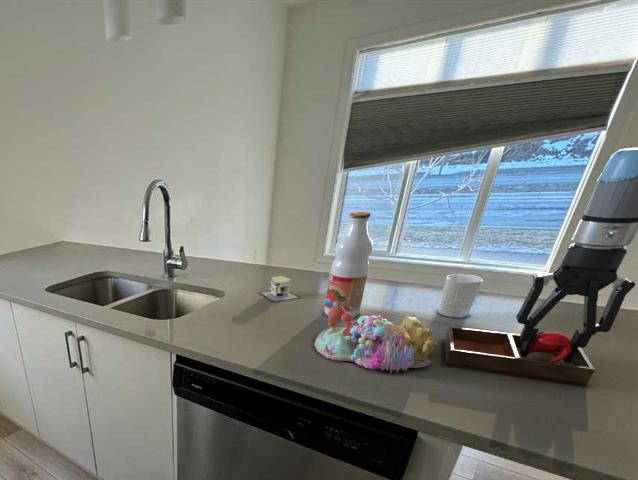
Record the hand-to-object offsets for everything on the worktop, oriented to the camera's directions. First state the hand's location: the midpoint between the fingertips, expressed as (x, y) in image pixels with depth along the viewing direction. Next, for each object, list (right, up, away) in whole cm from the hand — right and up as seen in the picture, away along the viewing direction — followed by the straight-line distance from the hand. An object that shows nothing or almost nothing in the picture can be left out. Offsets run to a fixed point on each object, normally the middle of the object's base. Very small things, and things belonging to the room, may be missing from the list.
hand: (543, 357), depth 85 cm
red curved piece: (0, 0, 0) cm, 0 cm away
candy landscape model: (-29, +3, +13) cm, 32 cm away
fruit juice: (-25, +15, +35) cm, 45 cm away
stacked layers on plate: (-36, +25, +53) cm, 69 cm away
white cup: (+3, +14, +28) cm, 32 cm away
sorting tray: (-4, -1, +4) cm, 6 cm away
